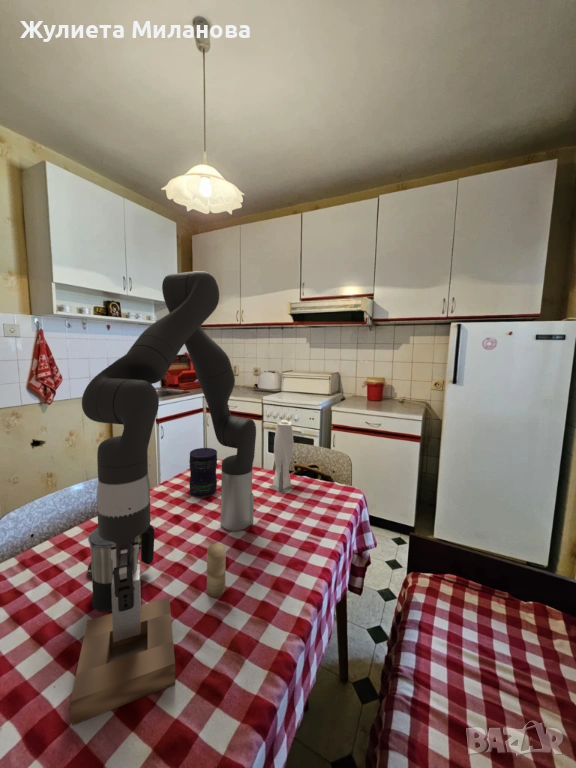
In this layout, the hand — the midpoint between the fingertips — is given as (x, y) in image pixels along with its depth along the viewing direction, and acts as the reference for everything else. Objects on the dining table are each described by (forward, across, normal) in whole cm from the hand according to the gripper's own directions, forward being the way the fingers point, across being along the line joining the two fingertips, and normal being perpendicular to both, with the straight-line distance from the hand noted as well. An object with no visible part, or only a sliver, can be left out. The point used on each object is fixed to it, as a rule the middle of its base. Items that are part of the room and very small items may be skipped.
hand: (127, 597), depth 52 cm
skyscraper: (+13, +52, -51) cm, 74 cm away
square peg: (+6, 0, 0) cm, 6 cm away
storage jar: (+12, +58, -22) cm, 63 cm away
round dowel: (+12, +10, -17) cm, 23 cm away
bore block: (+12, 0, 0) cm, 12 cm away
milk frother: (+12, +20, +5) cm, 24 cm away
